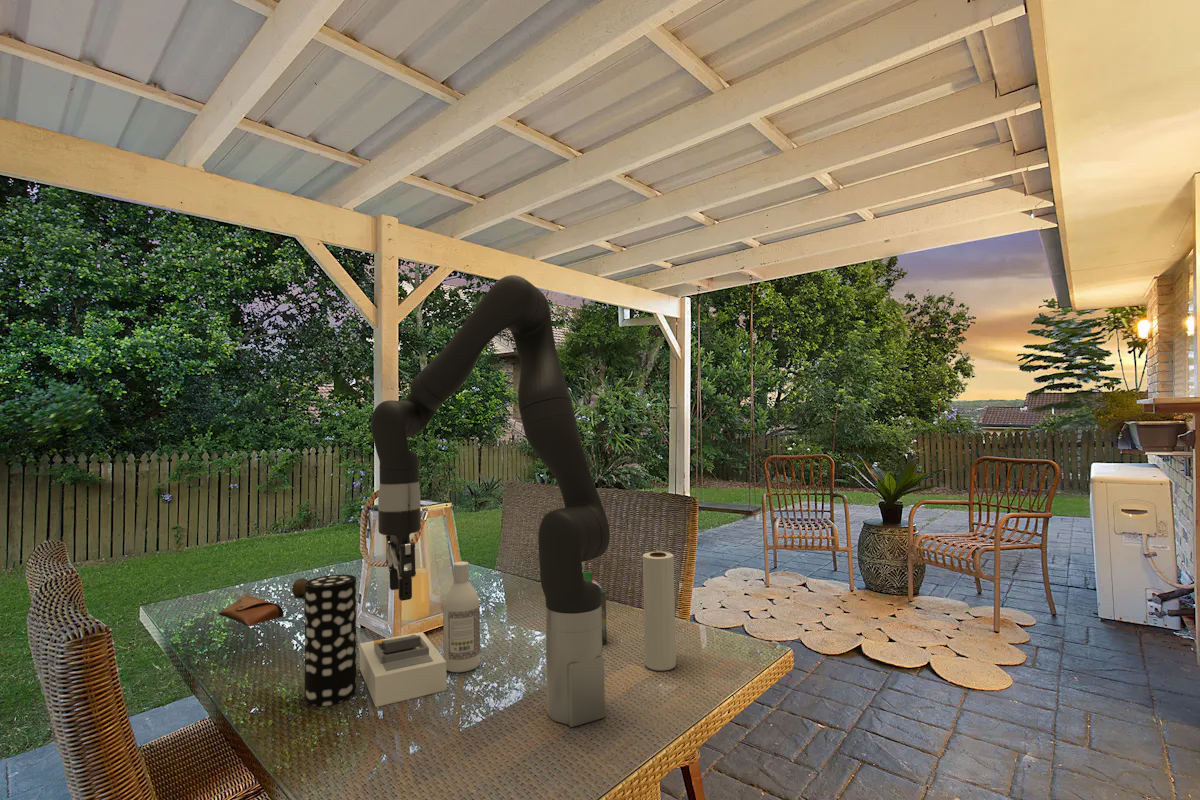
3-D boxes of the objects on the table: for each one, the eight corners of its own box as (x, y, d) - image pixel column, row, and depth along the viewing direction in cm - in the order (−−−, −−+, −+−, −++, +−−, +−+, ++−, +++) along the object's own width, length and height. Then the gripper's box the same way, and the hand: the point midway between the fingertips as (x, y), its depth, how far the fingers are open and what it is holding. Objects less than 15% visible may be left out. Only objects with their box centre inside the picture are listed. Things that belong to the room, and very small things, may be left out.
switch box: (446, 690, 107) (446, 654, 107) (375, 707, 101) (375, 669, 101) (422, 656, 123) (422, 625, 123) (360, 669, 117) (359, 637, 117)
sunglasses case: (213, 613, 153) (228, 587, 156) (238, 621, 158) (252, 595, 161) (248, 626, 143) (263, 598, 146) (274, 634, 148) (288, 606, 151)
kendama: (313, 593, 173) (366, 598, 165) (283, 603, 164) (338, 609, 156) (312, 572, 173) (365, 576, 165) (282, 581, 164) (337, 586, 156)
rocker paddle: (420, 646, 111) (420, 636, 112) (386, 652, 108) (386, 643, 109) (414, 643, 115) (414, 634, 116) (382, 649, 112) (381, 640, 113)
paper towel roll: (665, 674, 112) (663, 558, 113) (638, 666, 116) (636, 555, 116) (684, 661, 118) (682, 551, 118) (658, 654, 121) (656, 548, 122)
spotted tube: (300, 709, 101) (300, 588, 101) (310, 688, 109) (309, 576, 109) (353, 702, 103) (352, 584, 104) (359, 682, 111) (358, 573, 112)
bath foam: (486, 666, 117) (485, 563, 118) (453, 676, 113) (452, 569, 113) (470, 656, 122) (469, 557, 123) (437, 665, 118) (437, 562, 119)
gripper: (429, 509, 109) (430, 600, 108) (411, 501, 121) (412, 582, 120) (385, 513, 105) (386, 607, 104) (372, 504, 117) (372, 588, 116)
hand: (400, 594), depth 112 cm, fingers open, 8 cm apart
